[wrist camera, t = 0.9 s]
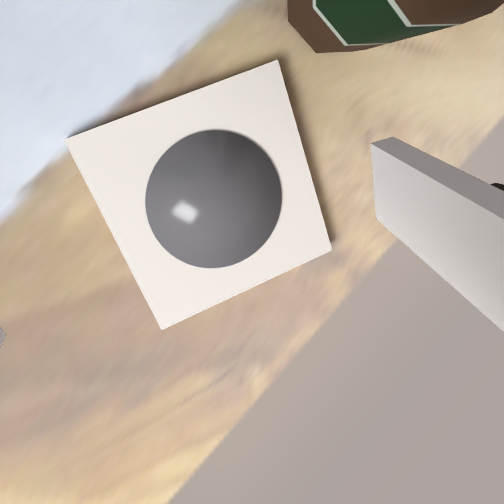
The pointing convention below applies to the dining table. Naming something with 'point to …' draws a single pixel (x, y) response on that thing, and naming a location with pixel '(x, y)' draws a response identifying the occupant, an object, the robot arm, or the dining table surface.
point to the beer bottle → (377, 20)
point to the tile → (206, 192)
